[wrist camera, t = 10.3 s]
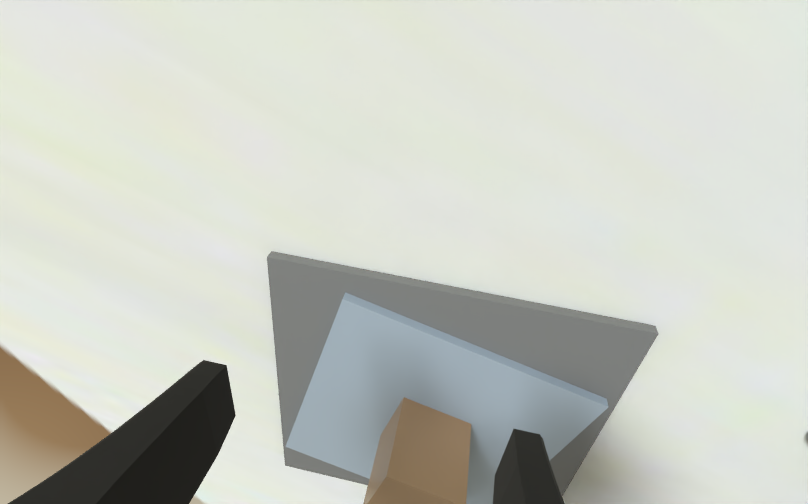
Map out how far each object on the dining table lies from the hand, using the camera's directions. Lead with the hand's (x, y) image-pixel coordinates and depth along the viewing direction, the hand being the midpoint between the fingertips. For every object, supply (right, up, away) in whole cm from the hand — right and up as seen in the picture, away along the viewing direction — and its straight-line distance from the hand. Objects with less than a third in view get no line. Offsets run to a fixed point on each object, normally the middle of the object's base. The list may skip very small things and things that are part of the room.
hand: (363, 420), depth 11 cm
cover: (+2, -6, +15) cm, 16 cm away
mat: (+3, -5, +15) cm, 16 cm away
